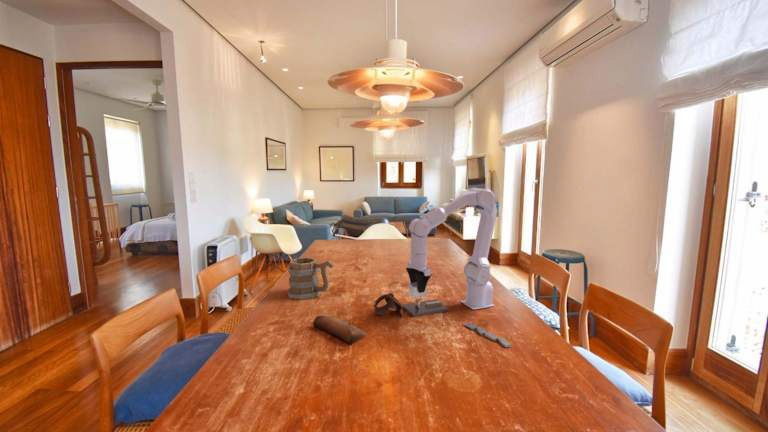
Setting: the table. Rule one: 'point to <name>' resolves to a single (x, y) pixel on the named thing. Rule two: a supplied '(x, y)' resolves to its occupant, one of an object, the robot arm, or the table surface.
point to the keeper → (424, 307)
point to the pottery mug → (388, 304)
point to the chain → (488, 334)
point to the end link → (416, 291)
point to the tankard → (307, 278)
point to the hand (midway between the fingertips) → (417, 289)
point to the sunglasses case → (340, 328)
